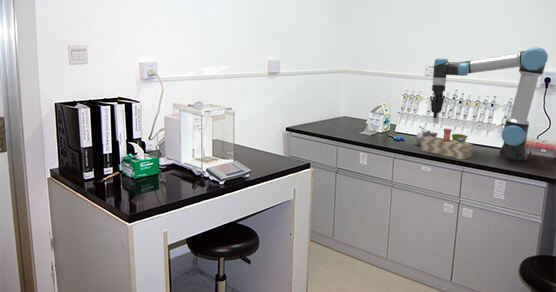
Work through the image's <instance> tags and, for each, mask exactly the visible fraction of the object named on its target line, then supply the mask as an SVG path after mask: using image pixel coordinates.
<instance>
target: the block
mask: <svg viewBox="0 0 556 292" xmlns="http://www.w3.org/2000/svg"><path fill="white" fill-rule="evenodd" d="M443 138H444V137H439V136H436V139H431V138H430V136H426V137H422V138H421V146H419V151H423V152H427V153H431V154H437V155H440V156H445V157H449V158H453V159H458V160H461V161H462V160H466V159H470V158H472V152H473V146H474V145H473V143H468V142H466V141H465V142H464V145H460V144H457V141H455V140H453V139H450V142H445V141H443Z"/></svg>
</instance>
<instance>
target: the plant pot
mask: <svg viewBox="0 0 556 292" xmlns="http://www.w3.org/2000/svg"><path fill="white" fill-rule="evenodd" d="M451 137H452V140H455V141H457V138H464V139H465V141H464V142H465V143H466V140H467V138H468V135H466V134H460V133H452V134H451Z"/></svg>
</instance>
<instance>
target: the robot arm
mask: <svg viewBox="0 0 556 292" xmlns="http://www.w3.org/2000/svg"><path fill="white" fill-rule="evenodd" d="M548 57H549V56H548V52H547V51H546V50H545V49H544V48H541V47H539V46H538V47H537V46H536V47H535V46H533V47H530V48H528V49H526V50H522V51H519V52H517V53H515V54H508V55H500V56H494V57H487V58H479V59H475V60H474V59H473V60H467V61H466V60H465V61H460V62H459V61H458V62H456V61H455V62H449V59H448V58H435V59H434V63H433V74H432V75H433V76H432V86H431V91H432V92H433V93H432V96H430V106H431V107H430V108H431V113H433V116H432V124H436V125H437V124H439V118H440V117H439V116H440V114H441V113H442V111H443V110H442V109H443V105H444V101H445V97H446V95H444V92H445V91H446V84H447V76H459V77H462V76H464V77H465V76H468V74H474V73H484V72H491V71H497V70H499V71H500V70H505V69H514V68H519V69H518V72H519V73H520V78H519V80H518V85H517V88H516V89H517V90H516V93H515V96H514V100H513V104H512V109H511V113H510V116H508V118H506V119H505V124H504V127H503V130H502V131H501V139H502V141H503V144H502V146H501V147H500V149H499V152H498V157H500V158H502V159H505V160H509V161H510V160H511V161H527V160H528V159H527V158H528V152H527V147H526V146H527V145H526V144H527V140H528V132H529V128H530V122H529V120H528V117H529V113H530V110H531V106H532V104H533V98H534V96H535V92H536V87H537V85H538V81H539V77H541V76H543V74H544V70H545V67H546V63H547V62H548V59H549V58H548Z"/></svg>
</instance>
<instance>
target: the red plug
mask: <svg viewBox="0 0 556 292" xmlns="http://www.w3.org/2000/svg"><path fill="white" fill-rule="evenodd" d="M443 131H444V133H443V137H442V138H443V141H445V142H450V140H451V132H453V130H452V129H451V128H443Z"/></svg>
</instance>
